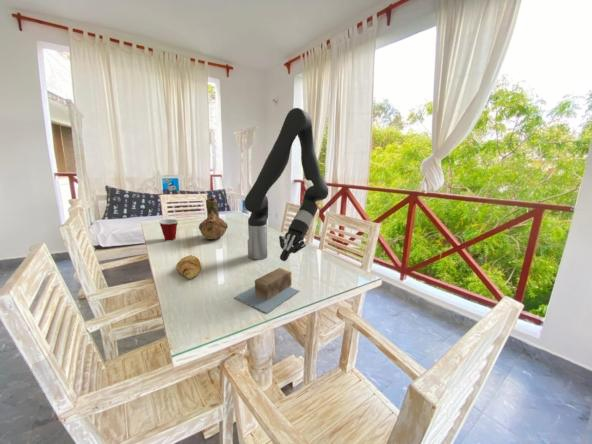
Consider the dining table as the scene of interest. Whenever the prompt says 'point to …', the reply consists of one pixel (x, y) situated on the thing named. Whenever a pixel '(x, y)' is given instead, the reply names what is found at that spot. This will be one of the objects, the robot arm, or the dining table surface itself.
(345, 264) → the dining table surface
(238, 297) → the slate mat
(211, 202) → the ceramic vessel
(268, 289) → the walnut block
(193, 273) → the croissant
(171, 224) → the plastic cup
